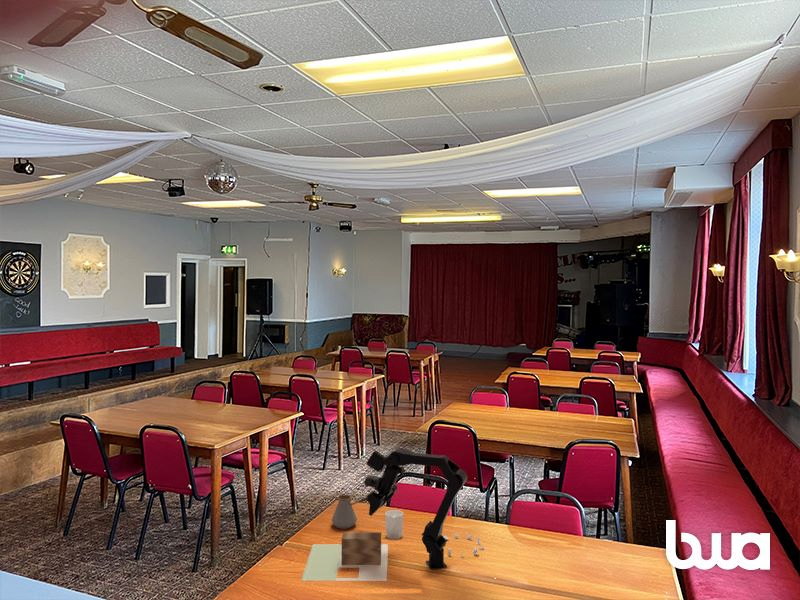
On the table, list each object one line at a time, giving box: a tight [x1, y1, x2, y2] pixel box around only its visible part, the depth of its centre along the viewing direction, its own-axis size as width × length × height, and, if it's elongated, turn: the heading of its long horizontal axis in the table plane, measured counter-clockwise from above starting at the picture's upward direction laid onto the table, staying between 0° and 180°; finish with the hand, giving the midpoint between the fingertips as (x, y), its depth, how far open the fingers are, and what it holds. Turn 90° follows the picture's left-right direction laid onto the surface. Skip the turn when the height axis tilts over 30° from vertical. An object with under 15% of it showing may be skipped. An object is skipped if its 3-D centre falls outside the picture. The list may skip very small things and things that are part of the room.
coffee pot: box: [331, 494, 368, 530], centre depth 263 cm, size 21×12×15 cm, turn 79°
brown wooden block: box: [341, 531, 382, 565], centre depth 227 cm, size 15×6×10 cm, turn 90°
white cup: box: [384, 509, 404, 540], centre depth 253 cm, size 8×8×10 cm
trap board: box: [301, 543, 389, 582], centre depth 227 cm, size 31×30×2 cm
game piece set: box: [442, 531, 485, 558], centre depth 243 cm, size 19×20×4 cm
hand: (374, 511), depth 236 cm, fingers open, 9 cm apart
